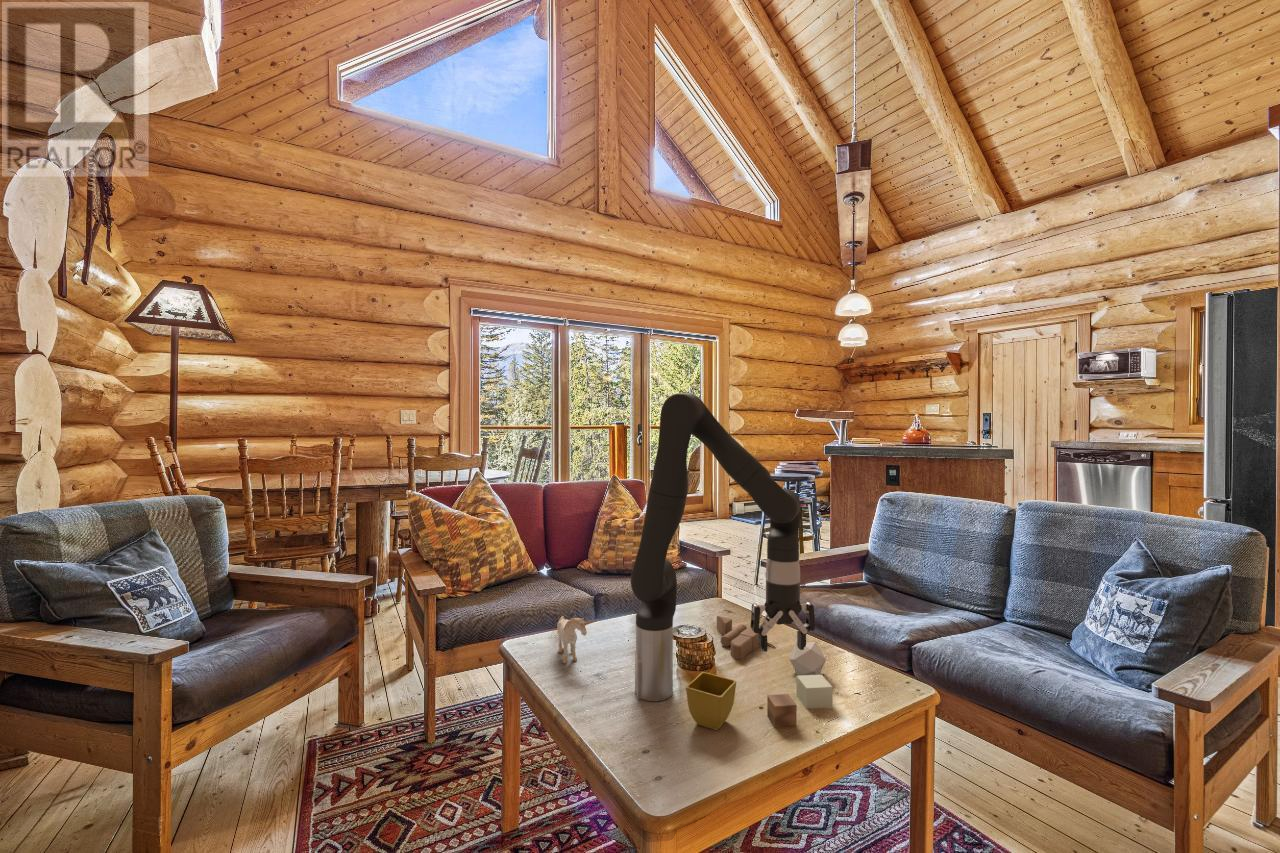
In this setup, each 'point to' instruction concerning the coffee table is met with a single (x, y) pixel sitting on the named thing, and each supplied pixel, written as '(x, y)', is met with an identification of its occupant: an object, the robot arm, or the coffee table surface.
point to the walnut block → (782, 711)
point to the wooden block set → (737, 637)
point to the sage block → (814, 691)
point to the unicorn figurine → (570, 634)
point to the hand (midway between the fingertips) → (782, 649)
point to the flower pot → (710, 699)
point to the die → (807, 659)
